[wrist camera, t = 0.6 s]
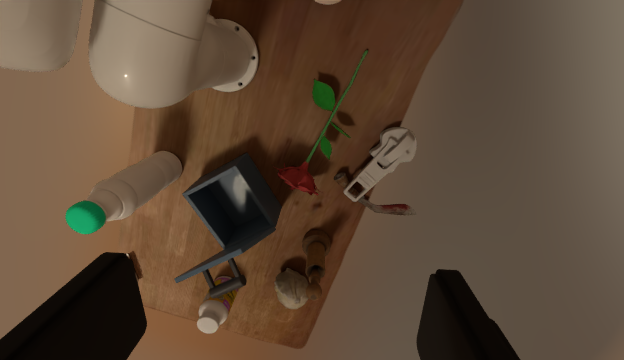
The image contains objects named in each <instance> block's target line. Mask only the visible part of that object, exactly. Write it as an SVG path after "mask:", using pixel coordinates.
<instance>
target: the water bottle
mask: <svg viewBox="0 0 624 360" xmlns="http://www.w3.org/2000/svg"><path fill="white" fill-rule="evenodd" d="M181 173H182V165H181V162H180V160H179V159H178V158H177V157H176V156H175V155H174V154H172V153H170V152H167V151H159V152H156V153H154V154H152V155H151V156H149V157H147V158H145V159H143V160H141V161H140V162H138V163H137V164H134V165H132V166H130V167H128V168H126V169H124V170H122V171H120V172H118V173H116V174H114V175H113V176H111V177H110V178H108V179H105V180H102V181H100V182H99V183H97V184H96V185H95V186H94V187H93V189H92V191H91V192H90V195H89V196H88V198H87V200H84V201H81V202H78V203H76V204H74V205H73V206H71V207H70V208H69V209H68V210H67V212H66V221H67V223H68V225H69V226H70V227H71V228H72V229H74V231H76V232H79V233H81V234H90V233H93V232H95V231H97V230H98V229H100V228H101V227H102V226H103V225H104V224H105V223H106V221H112V220H120V219H124V218H126V217H128V216H130V215H131V214H132V213H133V212H134V211H135V210H136V209H138V208H140V207H141V206H143V205H144V204H145V203H147V202H148V201H149V200H151V199H152V198H153V197H154V196H156V195H157V194H158V193H159V192H160V191H161V190H163V189H165V188H166V187H167V186H169V185H170V184H171V183H173V182H174V181H176V180H177V179H178V178H179V177H180V175H181Z"/></svg>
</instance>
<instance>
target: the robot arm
mask: <svg viewBox="0 0 624 360" xmlns="http://www.w3.org/2000/svg"><path fill="white" fill-rule="evenodd" d="M211 3H212V0H95V2H94V9H93V17H92V24H91V29H90V38H89V63H90V68H91V72H92V74H93V77H94V79H95V81H96V82H97V83H98V85H99V86H100V87H101V88H102V89H103V91H105V92H106V93H107V94H109V95H110V96H111V97H113V98H114V99H116V100H119V101H120V102H123V103H126V104H128V105H131V106H135V107H141V108H162V107H167V106H171V105H173V104H176V103H178V102H180V101H182V100H183V99H185V98H186V97H188V96H189V95H190V94H191V93H193V92H194V91H196V90H200V89H205V88H210V87H211V88H214V89H216V90H218V91H223V92H232V91H237V90H240V89H242V88H244V87H245V86H247V85H248V84H249V83H250V82H251V81H252V79H253V78H254V76H255V74H256V72H257V68H258V61H259V58H258V51H257V47H256V44H255V42H254V40H253V38H252V37H251V35H250V34H249V33H248V31H247V30H246V29H245V28H243V27H242V26H241V25H239V24H237V23H235V22H233V21H230V20H226V19H214V17H213V16H210V14H209V10H210V7H211ZM81 8H82V0H0V68H7V69H14V70H23V71H34V72H48V71H54V70H58V69H60V68H62V67H64V66H65V65H66V64H67V62H69V60H70V58H71V56H72V54H73V51H74V47H75V43H76V38H77V33H78V28H79V21H80V15H81ZM237 28H239V31H238V30H237ZM254 56H255V59H253V57H254ZM240 83H242V85H240ZM146 327H147V321H146V316H145V312H144V308H143V303H142V299H141V295H140V291H139V286H138V282H137V278H136V274H135V269H134V265H133V261H132V260H131V259H130V258H128V256H127V255H126V254H124V253H110V252H106V253H103V254H101V255H100V256H99V257H98V258H96V259H95V260H94V261H93V262H92V263H90V264H89V265H88V266H87V267H86V268H85V269H83V270H82V271H81V272H80V273H79V274H77V275H76V276H75V277H74V278H73V279H71V280H70V281H69V282H68V283H67V284H66V285H64V286H63V287H62V288H61V289H60V290H58V291H57V292H56V293H55V294H54V295H53V296H51V297H50V298H49V299H48V300H47V301H45V302H44V303H43V304H42V305H41V306H39V307H38V308H37V309H36V310H35V311H34V312H32V313H31V314H30V315H29V316H28V317H26V318H25V319H24V320H23V321H22V322H21V323H19V324H18V325H17V326H16V327H15V328H13V329H12V330H11V331H10V332H9V333H7V334H6V335H5V336H4V337H3V338H1V339H0V360H127V358H128V357H129V355H130V354H131V352H132V351H133V349H134V348H135V346H136V345H137V343H138V342H139V341H140V339H141V337H142V336H143V335H144V333H145V330H146ZM417 349H418V353H419V356H420V359H421V360H520V359H519V357H518V356H517V354H516V352H515V351H514V349H513V348H512V346H511V345H510V343H509V342H508V340H507V339H506V337H505V336H504V334H503V333H502V331H501V330H500V328H499V326H498V325H497V324H496V323H495V321H493V320H492V319H490V318H489V317H488V316H487V314H486V312H485V311H484V309H483V308H482V306H481V305H480V303H479V301H478V300H477V298H476V297H475V295H474V294H473V292H472V290H471V289H470V287H469V286H468V284H467V283H466V281H465V279H464V278H463V276H462V275H461V273H460V272H459V271H457V270H443V269H438V270H437V271H436V274H431V275H430V278H429V282H428V287H427V292H426V296H425V301H424V306H423V311H422V315H421V320H420V325H419V330H418V335H417Z"/></svg>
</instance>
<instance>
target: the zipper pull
mask: <svg viewBox="0 0 624 360" xmlns="http://www.w3.org/2000/svg"><path fill="white" fill-rule="evenodd" d="M416 147H417V142H416V137H415V135H414V133H413V132H412V131H410V130H408V129H406V128H403V127H393V128H389V129H386V130H384V131H382V132H381V134H380V143H379V144H378V145H377V146H376V147H374V148H372V149H371V150H370V151H369V152H370V154H371V155H372V156H373V157H374V158H373V159H372V160H371V161H370V162H369V163H368V164H367V165H366V166H365V167H364V168H363V169H362V170H361V172H360V173H359V174H358V175H357V176H356V177H355V178H354V179H353V180H352V181H351V182H350V183H349V184H348V185H347V187H346V188H345V189H344V194H345V195H347V196H348V197H349V198H350V199H351V200H352V201H354V202H356V201H357V200H358V199H360V198H361V197H362V196H363V195H364V194H365V193H366V192H367V191H368V190H370V189H371V188H372V187H373V186H374V185H375V184H376V183H377V182H378V181H379V180H381V179H382V178H383V177H384V176H385V175H386V174H387V173H388V172H390V173H392V172H394V170H395V168H396V166H397V165H398V164H399V163H400V162H409V161H411V160H412V158H413V157H414V155H415V152H416ZM377 161H378V162H379V163H380V164H381V165H382V166H383V167H384V168H381V167H380V166H379V165H378V164H377ZM356 181H357V182H359V183H360V184H361V185H362V186H363V187H364V188H365V189H364V190H363V191H362V192H361V193H359V194H358V195H357V196H356V197H354V196H353V195H352V194H351V193H350V192H348V190H349V189H350V188H351V186H352V185H353V184H354V183H355V182H356Z"/></svg>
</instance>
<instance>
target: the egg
mask: <svg viewBox="0 0 624 360" xmlns="http://www.w3.org/2000/svg"><path fill="white" fill-rule="evenodd" d="M315 1H316V2H318V3H320V4H326V5H330V4H335V3H337V2H340V1H341V0H315Z"/></svg>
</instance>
